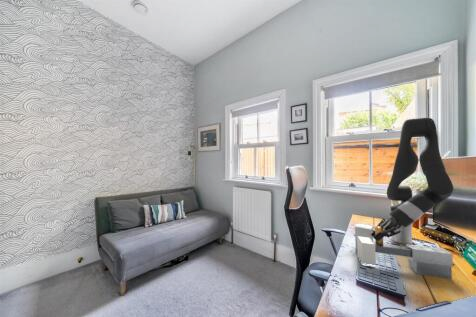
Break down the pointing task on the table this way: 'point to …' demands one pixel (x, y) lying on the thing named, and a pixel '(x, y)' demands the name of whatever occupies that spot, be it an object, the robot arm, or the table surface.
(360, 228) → the supplement box
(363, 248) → the socket block
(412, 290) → the table surface
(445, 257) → the grey sleeve
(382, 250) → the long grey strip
